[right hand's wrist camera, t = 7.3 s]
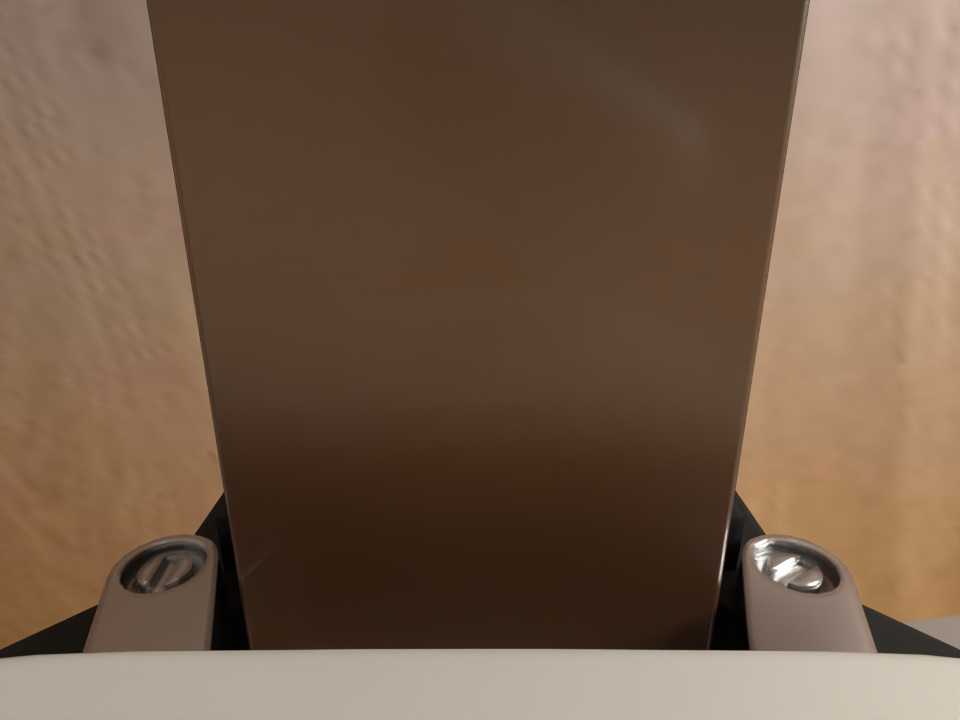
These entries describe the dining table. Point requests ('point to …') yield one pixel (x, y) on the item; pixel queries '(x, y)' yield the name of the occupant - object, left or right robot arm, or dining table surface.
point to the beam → (479, 305)
